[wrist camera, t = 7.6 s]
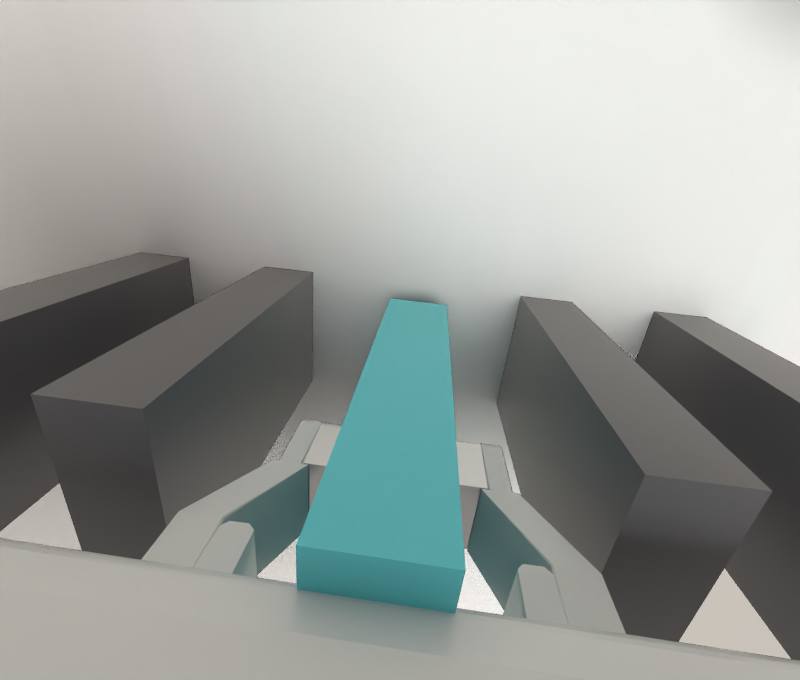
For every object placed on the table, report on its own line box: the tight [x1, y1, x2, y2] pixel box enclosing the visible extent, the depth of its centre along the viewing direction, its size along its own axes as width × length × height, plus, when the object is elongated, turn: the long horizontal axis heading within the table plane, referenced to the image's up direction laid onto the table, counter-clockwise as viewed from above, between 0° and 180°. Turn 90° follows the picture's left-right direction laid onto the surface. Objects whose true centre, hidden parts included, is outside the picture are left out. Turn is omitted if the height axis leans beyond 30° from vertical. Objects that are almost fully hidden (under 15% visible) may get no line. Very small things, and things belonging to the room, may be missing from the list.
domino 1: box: [0, 253, 194, 531], centre depth 12 cm, size 2×5×10 cm, turn 174°
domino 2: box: [31, 267, 313, 560], centre depth 12 cm, size 2×5×10 cm, turn 174°
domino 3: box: [497, 296, 772, 642], centre depth 12 cm, size 2×5×10 cm, turn 174°
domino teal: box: [296, 298, 465, 613], centre depth 10 cm, size 2×5×10 cm, turn 174°
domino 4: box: [636, 311, 800, 661], centre depth 12 cm, size 2×5×10 cm, turn 174°
